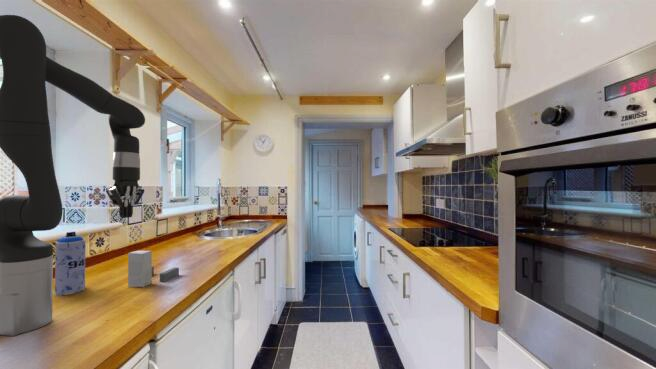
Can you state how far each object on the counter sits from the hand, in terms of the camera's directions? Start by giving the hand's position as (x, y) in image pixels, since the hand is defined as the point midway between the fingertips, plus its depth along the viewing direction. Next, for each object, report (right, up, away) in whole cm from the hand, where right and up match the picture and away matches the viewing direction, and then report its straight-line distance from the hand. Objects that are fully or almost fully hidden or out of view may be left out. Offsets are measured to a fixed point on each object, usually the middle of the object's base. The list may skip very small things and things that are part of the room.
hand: (126, 217), depth 93 cm
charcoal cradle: (+2, -25, +14) cm, 29 cm away
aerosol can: (-19, -25, 0) cm, 32 cm away
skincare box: (+1, -25, +6) cm, 26 cm away
